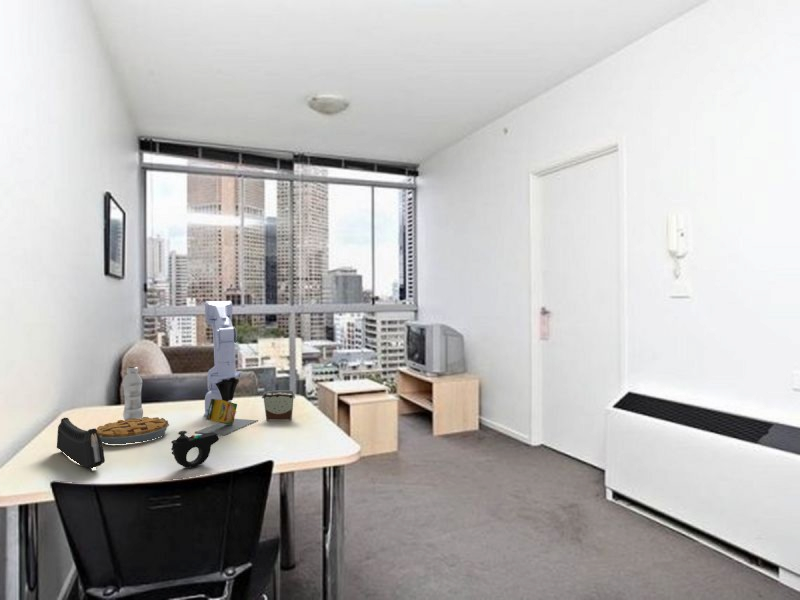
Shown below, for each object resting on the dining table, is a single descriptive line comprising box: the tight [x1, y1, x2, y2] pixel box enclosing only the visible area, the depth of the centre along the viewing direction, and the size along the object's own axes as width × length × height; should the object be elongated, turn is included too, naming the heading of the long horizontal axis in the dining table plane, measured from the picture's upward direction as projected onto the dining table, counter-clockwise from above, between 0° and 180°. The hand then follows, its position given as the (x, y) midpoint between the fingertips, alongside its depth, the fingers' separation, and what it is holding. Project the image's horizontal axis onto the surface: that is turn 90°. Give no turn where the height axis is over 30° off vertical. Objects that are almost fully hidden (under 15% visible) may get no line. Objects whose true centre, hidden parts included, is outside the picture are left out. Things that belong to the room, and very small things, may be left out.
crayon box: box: [206, 398, 238, 425], centre depth 174 cm, size 7×3×12 cm
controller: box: [170, 430, 220, 469], centre depth 136 cm, size 4×12×10 cm, turn 136°
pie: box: [96, 416, 170, 444], centre depth 165 cm, size 22×22×5 cm
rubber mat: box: [194, 418, 259, 436], centre depth 176 cm, size 12×19×1 cm, turn 162°
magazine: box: [56, 417, 106, 469], centre depth 142 cm, size 17×3×30 cm
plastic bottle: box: [122, 366, 144, 421], centre depth 186 cm, size 6×7×20 cm
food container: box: [261, 389, 296, 421], centre depth 187 cm, size 12×6×10 cm, turn 84°
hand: (227, 400), depth 176 cm, fingers closed
